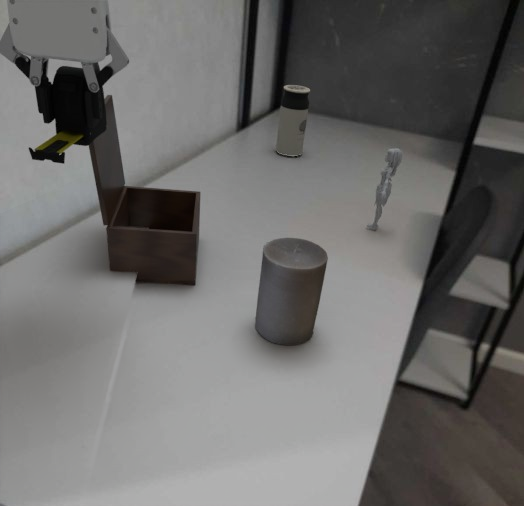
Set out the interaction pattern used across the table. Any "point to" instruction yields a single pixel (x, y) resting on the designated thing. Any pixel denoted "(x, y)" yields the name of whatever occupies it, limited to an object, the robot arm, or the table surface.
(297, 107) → the travel mug
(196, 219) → the desk box
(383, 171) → the human figurine
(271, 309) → the pillar candle
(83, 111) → the tape measure
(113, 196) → the lid
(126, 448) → the table surface
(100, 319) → the table surface
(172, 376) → the table surface
